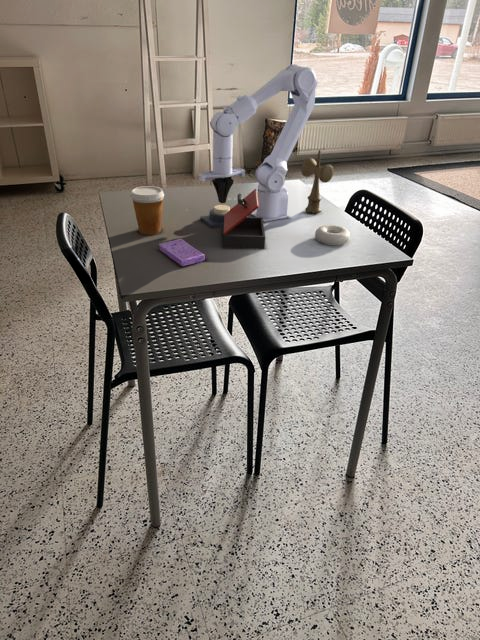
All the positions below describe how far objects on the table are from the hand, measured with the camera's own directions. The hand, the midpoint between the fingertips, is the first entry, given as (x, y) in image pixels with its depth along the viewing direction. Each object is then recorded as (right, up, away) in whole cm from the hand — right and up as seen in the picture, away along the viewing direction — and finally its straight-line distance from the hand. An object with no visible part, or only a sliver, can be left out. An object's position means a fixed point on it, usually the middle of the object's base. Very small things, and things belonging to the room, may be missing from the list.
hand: (222, 202), depth 151 cm
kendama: (+30, 0, +13) cm, 32 cm away
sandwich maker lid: (+6, -6, -12) cm, 15 cm away
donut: (+32, -13, -8) cm, 36 cm away
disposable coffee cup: (-21, -10, -6) cm, 24 cm away
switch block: (0, -5, +3) cm, 6 cm away
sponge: (-10, -19, -20) cm, 29 cm away
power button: (0, -3, +2) cm, 3 cm away
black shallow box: (+7, -12, -8) cm, 16 cm away
